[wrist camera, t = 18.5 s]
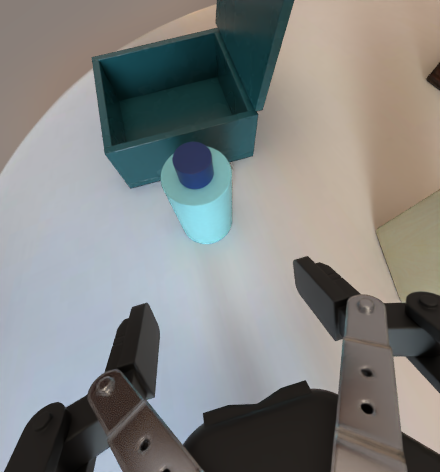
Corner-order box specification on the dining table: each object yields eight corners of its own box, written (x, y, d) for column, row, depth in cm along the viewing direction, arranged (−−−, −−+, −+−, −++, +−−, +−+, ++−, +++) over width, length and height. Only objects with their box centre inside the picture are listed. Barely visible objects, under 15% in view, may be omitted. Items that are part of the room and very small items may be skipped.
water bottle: (188, 250, 26) (160, 201, 16) (177, 205, 28) (146, 137, 18) (238, 236, 26) (241, 179, 16) (224, 193, 28) (219, 118, 18)
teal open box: (130, 188, 29) (104, 154, 23) (115, 103, 34) (91, 57, 28) (253, 156, 30) (258, 114, 24) (221, 77, 35) (218, 27, 29)
